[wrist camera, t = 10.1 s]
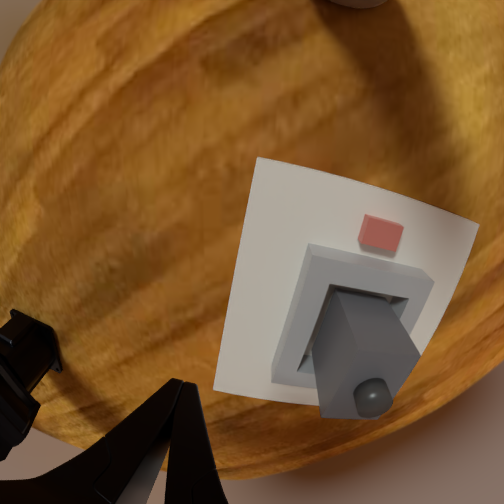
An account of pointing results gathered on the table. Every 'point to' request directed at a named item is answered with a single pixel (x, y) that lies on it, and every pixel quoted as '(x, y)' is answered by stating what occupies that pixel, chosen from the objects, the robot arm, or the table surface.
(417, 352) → the plug
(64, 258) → the table surface
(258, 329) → the socket
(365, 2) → the plastic bottle
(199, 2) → the table surface
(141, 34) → the table surface
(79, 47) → the table surface
